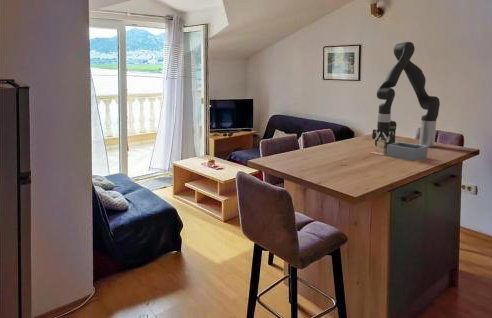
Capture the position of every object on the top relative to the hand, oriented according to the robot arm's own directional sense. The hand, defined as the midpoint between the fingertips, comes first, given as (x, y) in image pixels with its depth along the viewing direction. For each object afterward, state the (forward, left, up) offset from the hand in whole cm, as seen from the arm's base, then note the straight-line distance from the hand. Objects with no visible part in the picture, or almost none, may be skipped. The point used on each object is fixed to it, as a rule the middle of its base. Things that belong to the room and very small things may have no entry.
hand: (382, 147), depth 256 cm
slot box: (-2, +15, -4) cm, 16 cm away
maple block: (0, 0, -3) cm, 3 cm away
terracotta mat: (0, 0, -4) cm, 4 cm away
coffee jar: (-16, -7, -4) cm, 18 cm away
